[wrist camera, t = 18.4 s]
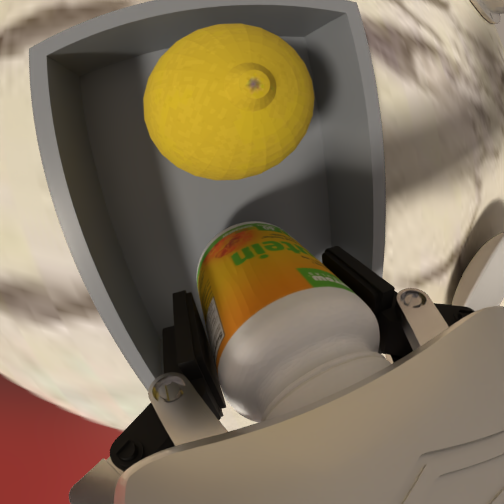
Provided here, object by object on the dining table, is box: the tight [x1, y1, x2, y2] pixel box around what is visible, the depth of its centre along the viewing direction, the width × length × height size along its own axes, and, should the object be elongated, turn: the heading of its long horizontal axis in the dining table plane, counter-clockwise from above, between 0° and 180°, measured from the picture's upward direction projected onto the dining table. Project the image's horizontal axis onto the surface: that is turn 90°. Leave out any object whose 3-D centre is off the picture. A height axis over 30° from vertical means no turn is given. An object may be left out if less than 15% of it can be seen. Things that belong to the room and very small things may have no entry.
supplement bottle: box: [196, 221, 391, 423], centre depth 10 cm, size 5×5×10 cm
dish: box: [452, 232, 504, 311], centre depth 24 cm, size 18×14×5 cm
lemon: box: [143, 23, 314, 180], centre depth 8 cm, size 6×6×8 cm
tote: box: [29, 0, 386, 391], centre depth 12 cm, size 18×14×5 cm
